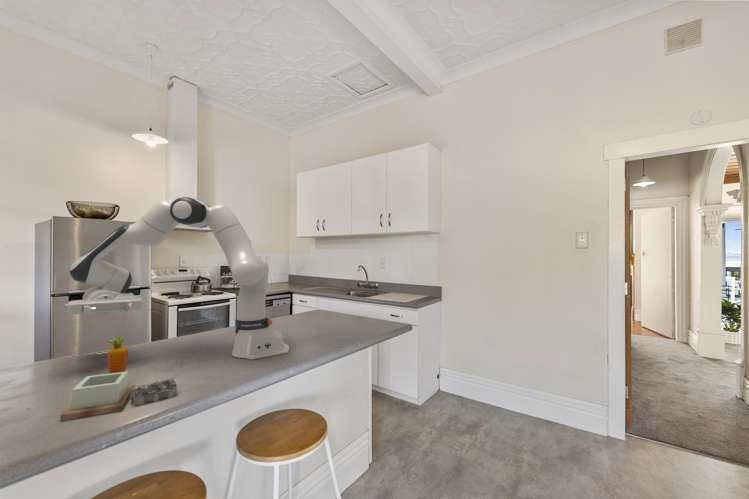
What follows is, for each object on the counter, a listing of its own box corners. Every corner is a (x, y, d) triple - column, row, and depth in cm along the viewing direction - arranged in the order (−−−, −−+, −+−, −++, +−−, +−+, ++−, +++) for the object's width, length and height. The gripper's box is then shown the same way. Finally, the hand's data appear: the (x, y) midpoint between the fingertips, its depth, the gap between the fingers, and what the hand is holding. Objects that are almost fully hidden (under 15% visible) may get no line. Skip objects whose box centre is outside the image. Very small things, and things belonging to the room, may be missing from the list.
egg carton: (131, 408, 84) (131, 393, 84) (130, 398, 90) (130, 383, 90) (178, 397, 91) (178, 382, 91) (174, 388, 97) (174, 374, 97)
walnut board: (135, 389, 95) (135, 384, 95) (121, 411, 82) (122, 405, 82) (83, 397, 89) (83, 391, 90) (60, 421, 77) (60, 415, 77)
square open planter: (127, 388, 92) (128, 371, 92) (118, 402, 84) (118, 383, 84) (86, 394, 88) (86, 376, 88) (71, 409, 80) (72, 389, 80)
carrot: (115, 388, 95) (116, 338, 96) (102, 386, 96) (103, 337, 97) (131, 381, 100) (132, 334, 100) (118, 380, 101) (119, 333, 101)
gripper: (64, 295, 108) (69, 302, 99) (137, 292, 123) (147, 298, 114) (62, 314, 108) (67, 322, 99) (136, 308, 123) (146, 315, 114)
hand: (111, 309), depth 106 cm, fingers open, 8 cm apart
